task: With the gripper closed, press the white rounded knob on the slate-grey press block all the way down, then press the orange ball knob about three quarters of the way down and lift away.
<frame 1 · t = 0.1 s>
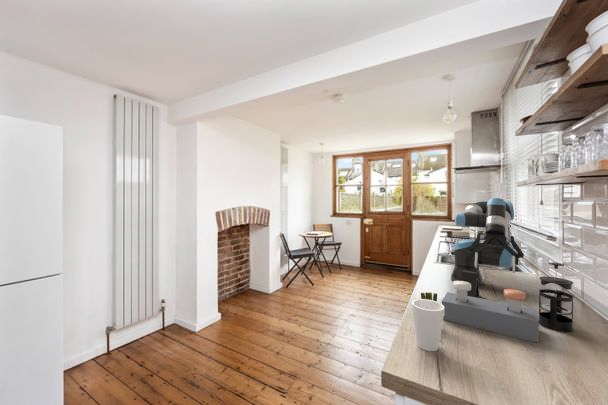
hand: (494, 269, 116), 15 cm above the countertop, tool tilted 35°, fingers open, 13 cm apart
fennel bulb: (428, 325, 98), on the countertop
white rounded knob: (462, 294, 103), point 9 cm above the countertop, slide at 0.0 cm
phone stand: (469, 296, 125), on the countertop
orange ball knob: (514, 303, 93), point 9 cm above the countertop, slide at 0.0 cm
foam cup: (427, 346, 84), on the countertop
french press: (555, 326, 96), on the countertop
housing: (486, 323, 98), on the countertop
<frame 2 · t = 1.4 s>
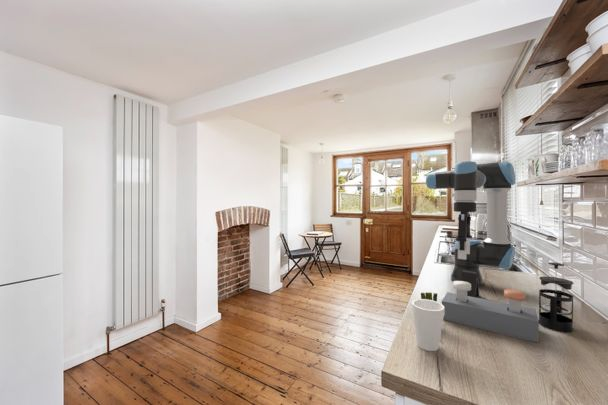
hand: (464, 256, 103), 24 cm above the countertop, tool pointing down, fingers open, 13 cm apart
nothing on the countertop moved.
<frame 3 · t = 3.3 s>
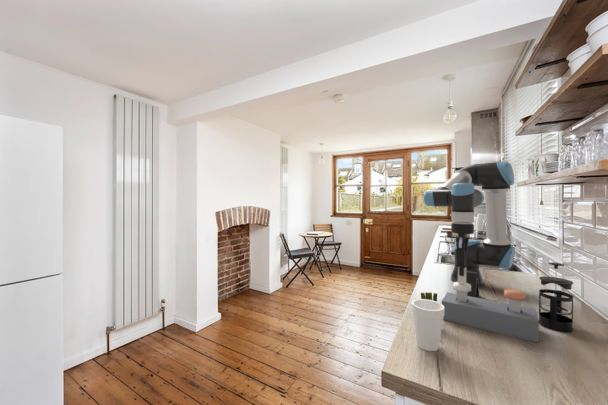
hand: (461, 283, 103), 13 cm above the countertop, tool pointing down, fingers closed
white rounded knob: (461, 295, 103), point 9 cm above the countertop, slide at 0.4 cm, touching gripper
everything else where it was.
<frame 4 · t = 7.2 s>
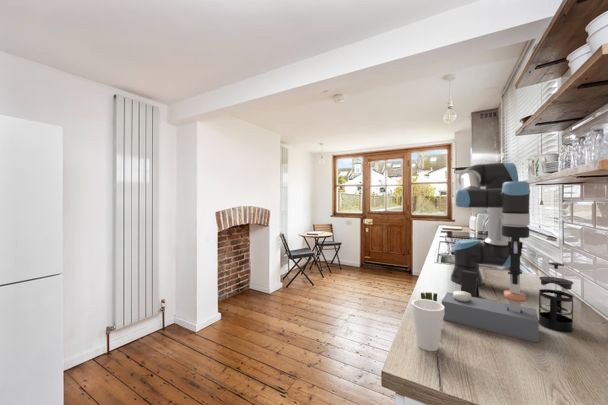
hand: (514, 292, 93), 13 cm above the countertop, tool pointing down, fingers closed
white rounded knob: (461, 304, 103), point 5 cm above the countertop, slide at 4.0 cm
orange ball knob: (514, 305, 93), point 9 cm above the countertop, slide at 0.5 cm, touching gripper
everything else where it was.
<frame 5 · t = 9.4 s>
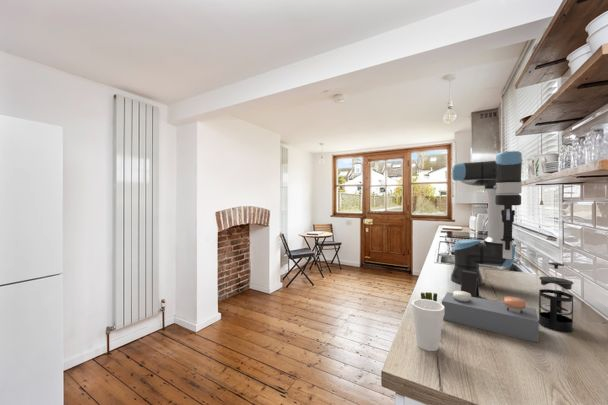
hand: (507, 258, 98), 24 cm above the countertop, tool pointing down, fingers closed
orange ball knob: (514, 311, 93), point 6 cm above the countertop, slide at 2.8 cm
everything else where it was.
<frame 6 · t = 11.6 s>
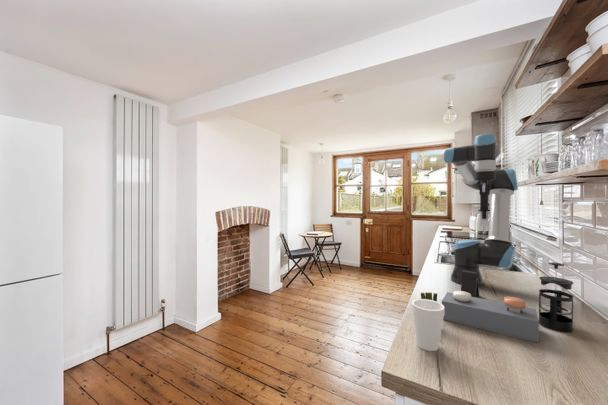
hand: (484, 226, 113), 34 cm above the countertop, tool pointing down, fingers closed
nothing on the countertop moved.
at the end: white rounded knob slide at 4.0 cm; orange ball knob slide at 2.8 cm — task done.
